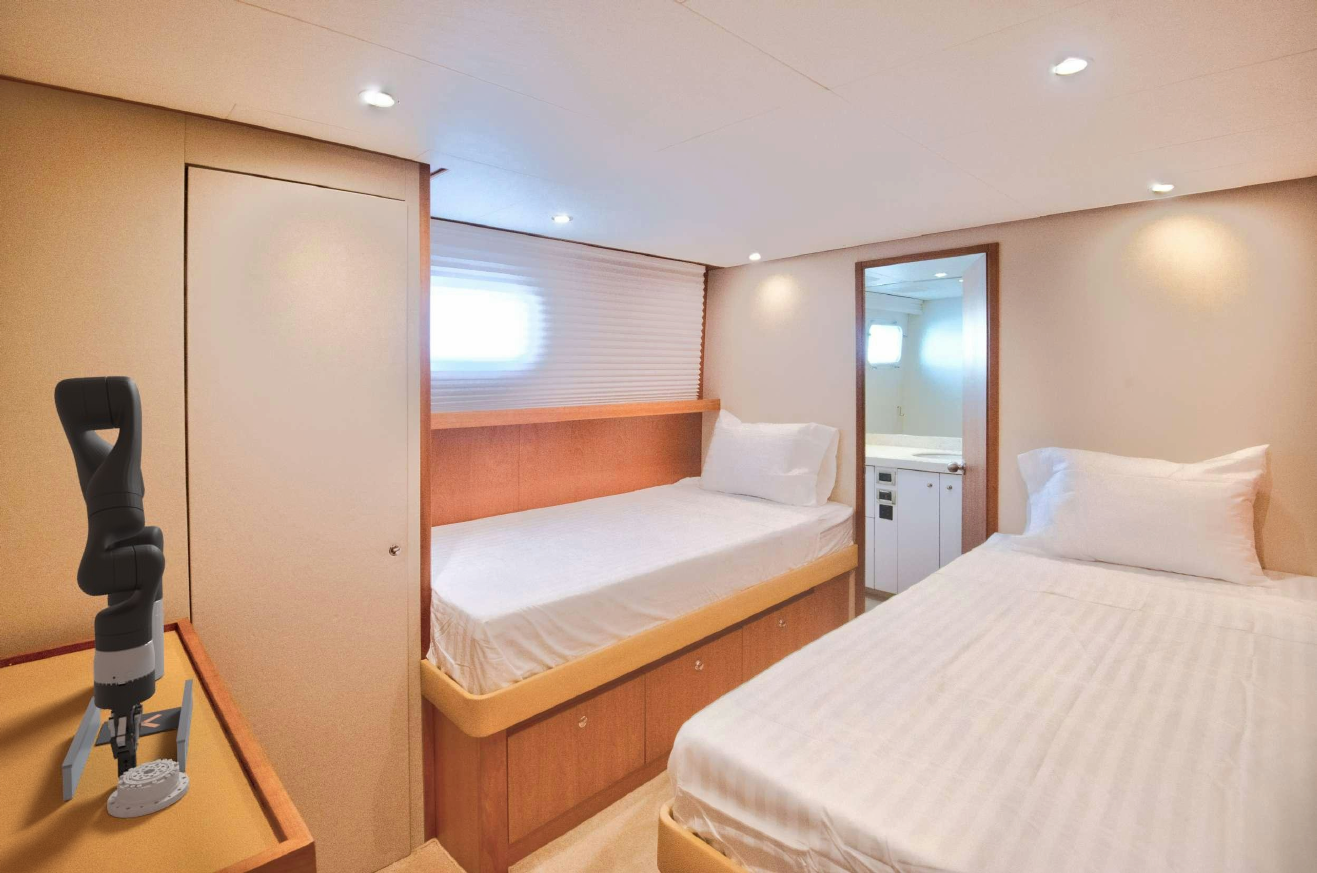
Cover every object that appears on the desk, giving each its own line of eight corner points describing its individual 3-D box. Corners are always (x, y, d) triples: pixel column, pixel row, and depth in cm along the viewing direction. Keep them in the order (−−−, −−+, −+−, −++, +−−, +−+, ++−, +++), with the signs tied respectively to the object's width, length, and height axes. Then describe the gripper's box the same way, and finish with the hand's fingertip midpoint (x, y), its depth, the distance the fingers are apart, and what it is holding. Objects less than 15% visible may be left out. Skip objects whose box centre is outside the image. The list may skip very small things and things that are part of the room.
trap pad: (104, 723, 120) (104, 721, 120) (183, 707, 127) (183, 705, 127) (95, 745, 113) (95, 743, 113) (180, 727, 119) (180, 725, 119)
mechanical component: (89, 820, 94) (160, 819, 95) (88, 791, 94) (160, 790, 94) (139, 779, 104) (203, 778, 105) (138, 753, 104) (203, 753, 104)
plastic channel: (92, 725, 119) (92, 696, 119) (193, 705, 128) (193, 678, 127) (62, 801, 98) (61, 766, 97) (185, 771, 106) (185, 739, 106)
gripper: (101, 660, 105) (103, 761, 106) (85, 693, 94) (89, 805, 95) (158, 651, 109) (160, 748, 110) (150, 682, 98) (152, 789, 99)
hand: (127, 774), depth 103 cm, fingers closed
